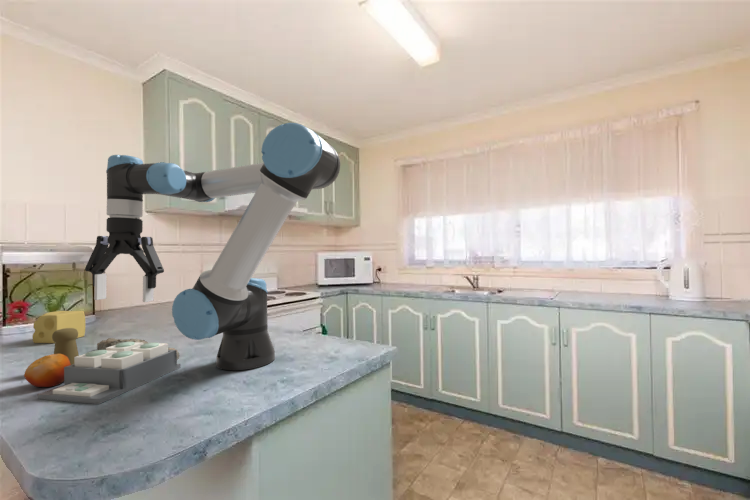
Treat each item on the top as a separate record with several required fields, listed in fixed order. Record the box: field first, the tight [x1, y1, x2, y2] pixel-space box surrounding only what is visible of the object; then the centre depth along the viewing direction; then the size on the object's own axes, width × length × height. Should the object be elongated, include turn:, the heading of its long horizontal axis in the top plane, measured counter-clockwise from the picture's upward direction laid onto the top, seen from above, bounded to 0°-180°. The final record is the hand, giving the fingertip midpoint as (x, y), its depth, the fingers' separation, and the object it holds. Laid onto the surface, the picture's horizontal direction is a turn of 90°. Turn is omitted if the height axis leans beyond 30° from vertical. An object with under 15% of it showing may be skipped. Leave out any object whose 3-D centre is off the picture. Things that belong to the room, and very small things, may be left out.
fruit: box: [23, 353, 71, 388], centre depth 83 cm, size 8×8×8 cm
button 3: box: [106, 342, 144, 353], centre depth 90 cm, size 6×6×3 cm
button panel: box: [37, 349, 182, 405], centre depth 83 cm, size 16×22×5 cm
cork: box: [52, 328, 80, 365], centre depth 93 cm, size 6×6×11 cm
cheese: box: [32, 310, 86, 344], centre depth 127 cm, size 10×11×10 cm
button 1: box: [74, 349, 117, 368], centre depth 82 cm, size 6×6×3 cm
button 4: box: [131, 342, 169, 359], centre depth 88 cm, size 6×6×3 cm
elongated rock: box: [96, 337, 180, 360], centre depth 106 cm, size 35×5×10 cm
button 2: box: [101, 351, 143, 369], centre depth 81 cm, size 6×6×3 cm
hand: (124, 300), depth 89 cm, fingers open, 13 cm apart
